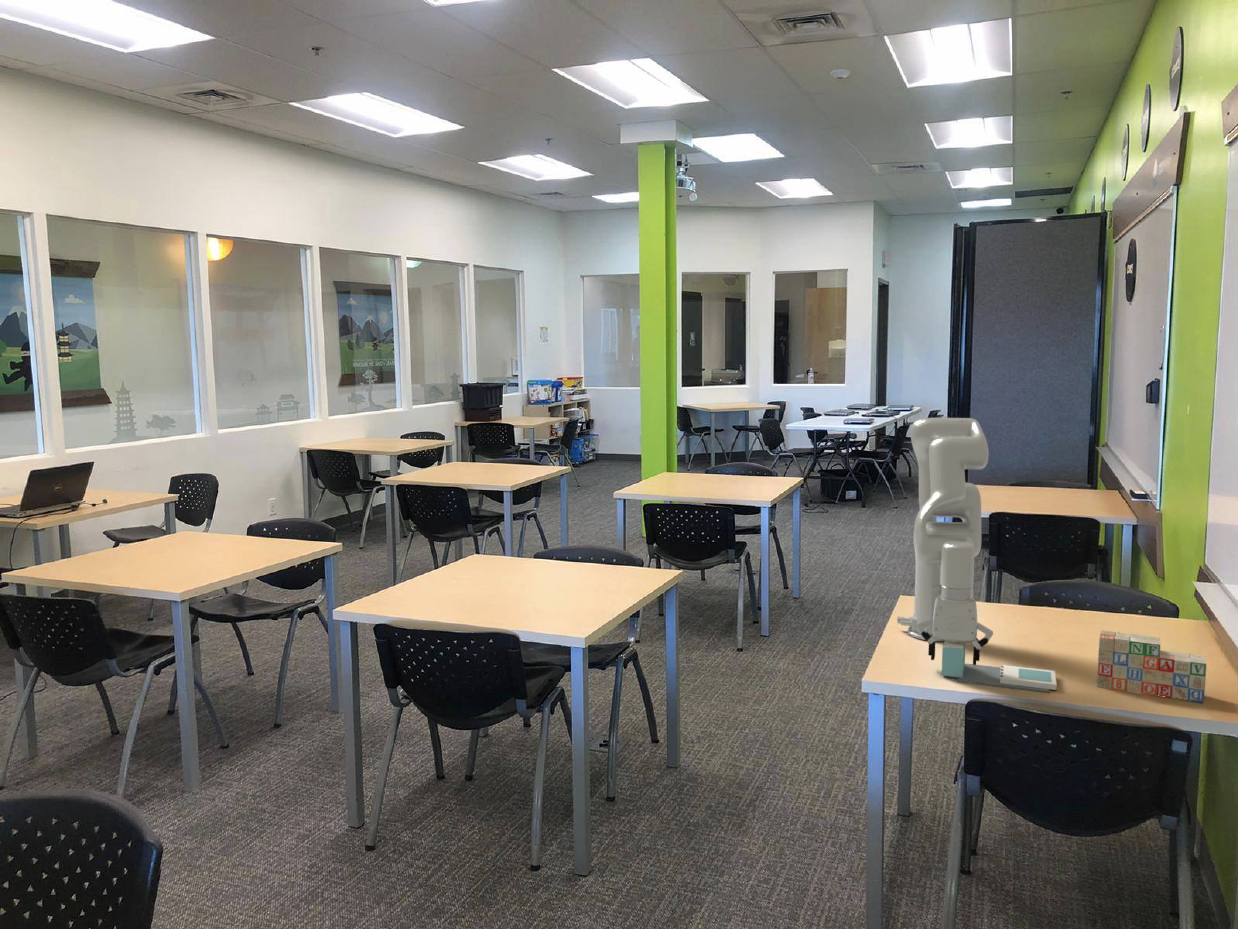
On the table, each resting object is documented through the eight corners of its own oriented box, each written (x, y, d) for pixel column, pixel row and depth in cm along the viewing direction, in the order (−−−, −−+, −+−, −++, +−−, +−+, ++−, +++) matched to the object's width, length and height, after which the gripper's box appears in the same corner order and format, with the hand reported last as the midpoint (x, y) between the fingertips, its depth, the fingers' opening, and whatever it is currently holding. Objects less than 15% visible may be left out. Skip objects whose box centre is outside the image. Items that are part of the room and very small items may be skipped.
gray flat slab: (956, 681, 221) (957, 674, 221) (959, 664, 233) (960, 657, 233) (1056, 693, 213) (1056, 686, 213) (1054, 675, 225) (1054, 668, 224)
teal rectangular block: (941, 675, 224) (942, 646, 223) (944, 662, 233) (945, 635, 232) (962, 678, 222) (963, 649, 221) (964, 664, 231) (965, 637, 230)
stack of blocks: (1203, 695, 212) (1206, 643, 210) (1204, 704, 206) (1207, 650, 205) (1097, 679, 223) (1100, 629, 221) (1096, 687, 217) (1099, 636, 216)
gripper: (917, 593, 225) (915, 661, 227) (994, 600, 218) (991, 670, 220) (920, 585, 232) (918, 652, 234) (995, 592, 225) (991, 660, 227)
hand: (953, 661), depth 227 cm, fingers open, 9 cm apart
